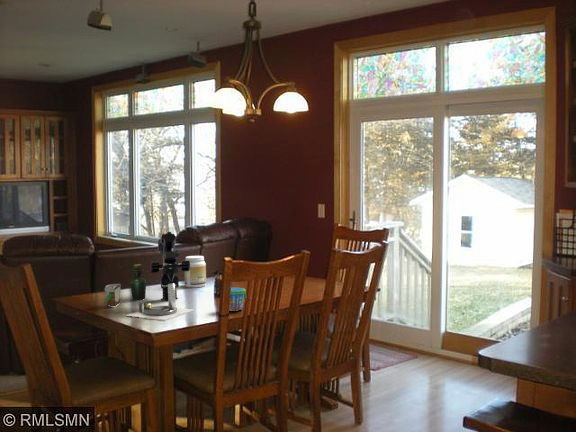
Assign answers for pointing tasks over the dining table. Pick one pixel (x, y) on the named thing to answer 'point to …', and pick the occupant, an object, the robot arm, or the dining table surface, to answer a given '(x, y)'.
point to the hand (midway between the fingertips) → (171, 280)
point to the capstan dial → (163, 309)
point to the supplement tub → (195, 272)
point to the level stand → (158, 317)
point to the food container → (113, 294)
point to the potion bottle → (138, 284)
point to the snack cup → (237, 298)
